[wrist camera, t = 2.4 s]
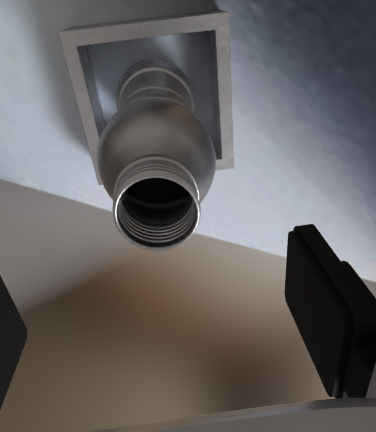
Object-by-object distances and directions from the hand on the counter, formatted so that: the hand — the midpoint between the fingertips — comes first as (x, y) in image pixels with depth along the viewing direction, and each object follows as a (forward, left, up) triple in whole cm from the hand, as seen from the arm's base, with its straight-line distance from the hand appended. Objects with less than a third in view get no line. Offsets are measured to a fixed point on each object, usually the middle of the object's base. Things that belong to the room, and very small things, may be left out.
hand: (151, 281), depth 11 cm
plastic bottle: (0, 0, -24) cm, 24 cm away
